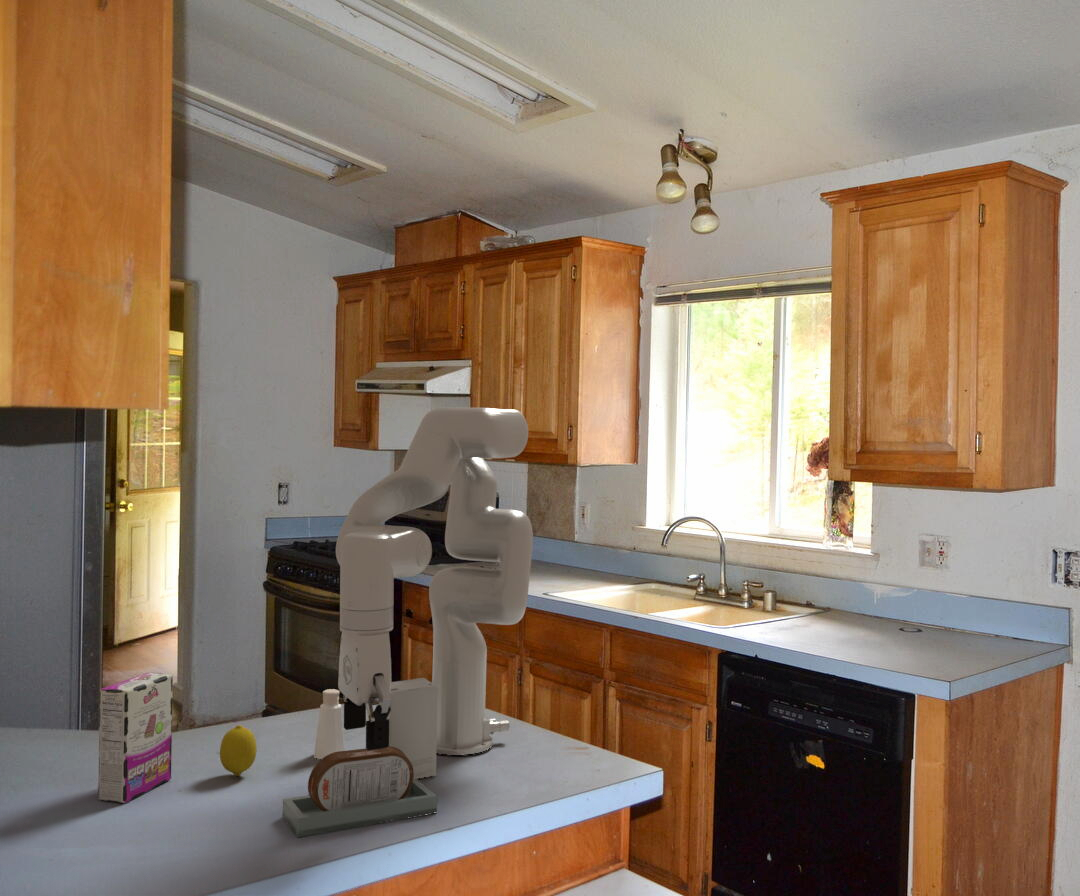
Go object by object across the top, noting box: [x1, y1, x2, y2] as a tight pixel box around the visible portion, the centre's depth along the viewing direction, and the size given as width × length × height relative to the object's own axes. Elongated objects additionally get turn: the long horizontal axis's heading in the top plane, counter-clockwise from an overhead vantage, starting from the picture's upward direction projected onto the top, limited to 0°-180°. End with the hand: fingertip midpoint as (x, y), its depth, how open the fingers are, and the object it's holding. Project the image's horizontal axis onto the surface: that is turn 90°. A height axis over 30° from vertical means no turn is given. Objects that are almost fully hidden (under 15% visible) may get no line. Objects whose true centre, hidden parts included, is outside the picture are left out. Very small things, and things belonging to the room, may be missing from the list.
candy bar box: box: [97, 672, 174, 804], centre depth 142 cm, size 11×5×16 cm, turn 167°
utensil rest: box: [281, 779, 438, 838], centre depth 134 cm, size 20×8×2 cm, turn 119°
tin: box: [307, 746, 414, 812], centre depth 134 cm, size 15×3×8 cm, turn 119°
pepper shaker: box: [313, 688, 345, 760], centre depth 160 cm, size 5×5×11 cm
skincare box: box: [389, 677, 438, 780], centre depth 151 cm, size 8×6×15 cm
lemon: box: [219, 724, 258, 777], centre depth 149 cm, size 6×6×8 cm
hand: (365, 737), depth 135 cm, fingers open, 9 cm apart
